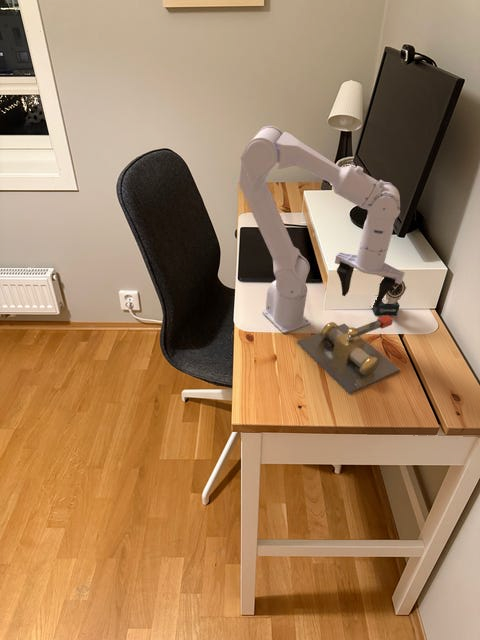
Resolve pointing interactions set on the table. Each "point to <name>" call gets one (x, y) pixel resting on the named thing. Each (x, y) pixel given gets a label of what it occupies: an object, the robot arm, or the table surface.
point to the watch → (390, 301)
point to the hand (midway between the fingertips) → (361, 299)
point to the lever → (369, 327)
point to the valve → (347, 358)
